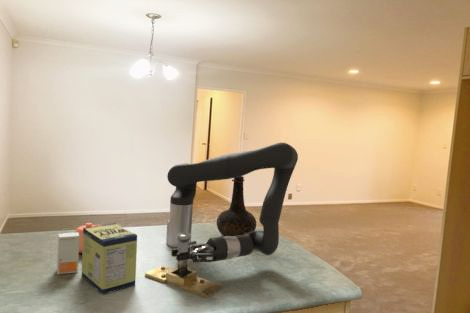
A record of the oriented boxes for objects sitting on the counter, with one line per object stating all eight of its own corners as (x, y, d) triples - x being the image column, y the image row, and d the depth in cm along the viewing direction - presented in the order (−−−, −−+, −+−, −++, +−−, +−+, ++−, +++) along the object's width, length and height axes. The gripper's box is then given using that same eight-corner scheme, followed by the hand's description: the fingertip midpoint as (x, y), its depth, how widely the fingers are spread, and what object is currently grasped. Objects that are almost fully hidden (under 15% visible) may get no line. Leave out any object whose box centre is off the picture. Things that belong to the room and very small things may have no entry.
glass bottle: (258, 234, 165) (262, 175, 163) (251, 246, 148) (256, 180, 146) (221, 229, 169) (225, 172, 167) (210, 240, 152) (214, 176, 150)
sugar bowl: (62, 252, 128) (62, 224, 127) (91, 241, 141) (92, 216, 140) (88, 258, 123) (89, 230, 122) (115, 247, 136) (116, 221, 135)
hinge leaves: (145, 276, 112) (145, 267, 112) (161, 268, 119) (162, 259, 118) (207, 298, 100) (207, 287, 100) (221, 287, 107) (222, 278, 107)
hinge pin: (171, 276, 109) (173, 235, 108) (180, 271, 113) (182, 232, 112) (183, 279, 107) (185, 238, 106) (191, 275, 110) (193, 234, 109)
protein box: (112, 268, 116) (114, 222, 115) (136, 285, 105) (138, 234, 104) (80, 276, 109) (82, 227, 108) (102, 295, 98) (104, 241, 97)
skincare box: (56, 275, 108) (58, 237, 108) (56, 269, 112) (57, 233, 111) (78, 272, 111) (79, 235, 110) (77, 267, 115) (78, 231, 114)
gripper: (214, 231, 122) (166, 236, 113) (234, 243, 110) (183, 250, 101) (213, 252, 123) (165, 259, 114) (233, 266, 111) (182, 275, 102)
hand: (174, 255), depth 108 cm, fingers closed on hinge pin, 3 cm apart
